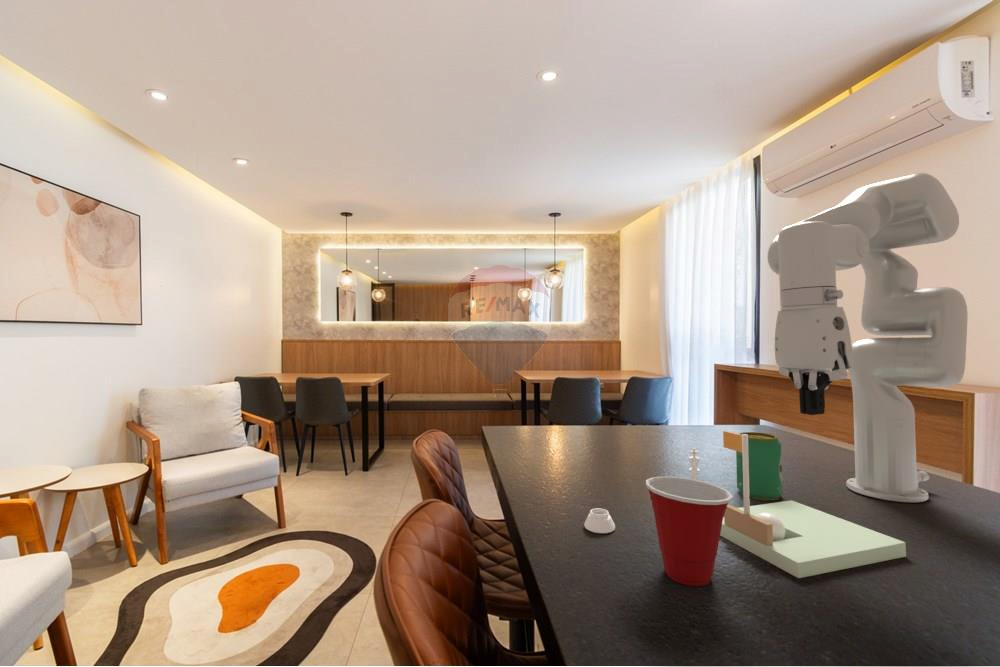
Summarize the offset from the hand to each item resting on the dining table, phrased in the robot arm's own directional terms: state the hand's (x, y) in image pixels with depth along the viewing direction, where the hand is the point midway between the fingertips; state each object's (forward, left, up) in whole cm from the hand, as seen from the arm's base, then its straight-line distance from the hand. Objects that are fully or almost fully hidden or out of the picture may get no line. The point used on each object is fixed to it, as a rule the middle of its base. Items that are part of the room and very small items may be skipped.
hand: (812, 413), depth 71 cm
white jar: (+32, -13, -20) cm, 40 cm away
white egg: (+10, +1, -17) cm, 20 cm away
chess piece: (+7, -20, -20) cm, 29 cm away
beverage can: (-7, -18, -20) cm, 28 cm away
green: (+5, 0, -20) cm, 20 cm away
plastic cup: (+28, +4, -20) cm, 34 cm away
